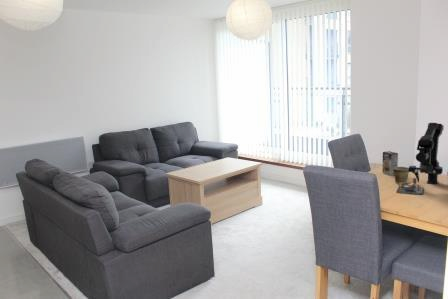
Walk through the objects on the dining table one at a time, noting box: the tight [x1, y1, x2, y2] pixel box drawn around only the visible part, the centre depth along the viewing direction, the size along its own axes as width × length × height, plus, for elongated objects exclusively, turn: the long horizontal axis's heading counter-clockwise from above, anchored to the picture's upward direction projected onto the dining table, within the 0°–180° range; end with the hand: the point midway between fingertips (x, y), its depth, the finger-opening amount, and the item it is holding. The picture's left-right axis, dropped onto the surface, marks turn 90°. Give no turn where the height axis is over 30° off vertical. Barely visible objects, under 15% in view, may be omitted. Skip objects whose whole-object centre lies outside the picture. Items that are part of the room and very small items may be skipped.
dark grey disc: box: [403, 177, 417, 189], centre depth 244 cm, size 9×7×5 cm
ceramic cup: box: [393, 166, 410, 185], centre depth 263 cm, size 13×10×10 cm
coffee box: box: [382, 150, 399, 176], centre depth 287 cm, size 9×6×16 cm
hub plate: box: [395, 183, 424, 196], centre depth 244 cm, size 14×14×3 cm
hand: (425, 182), depth 243 cm, fingers open, 7 cm apart
